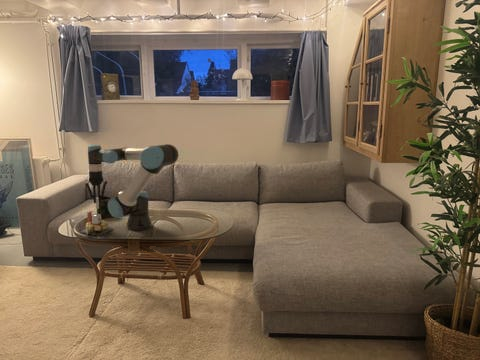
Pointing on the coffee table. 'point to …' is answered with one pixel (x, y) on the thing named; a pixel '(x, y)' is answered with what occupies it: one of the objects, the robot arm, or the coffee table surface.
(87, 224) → the toothed crank wheel
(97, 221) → the spindle base
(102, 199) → the mug
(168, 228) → the coffee table surface
